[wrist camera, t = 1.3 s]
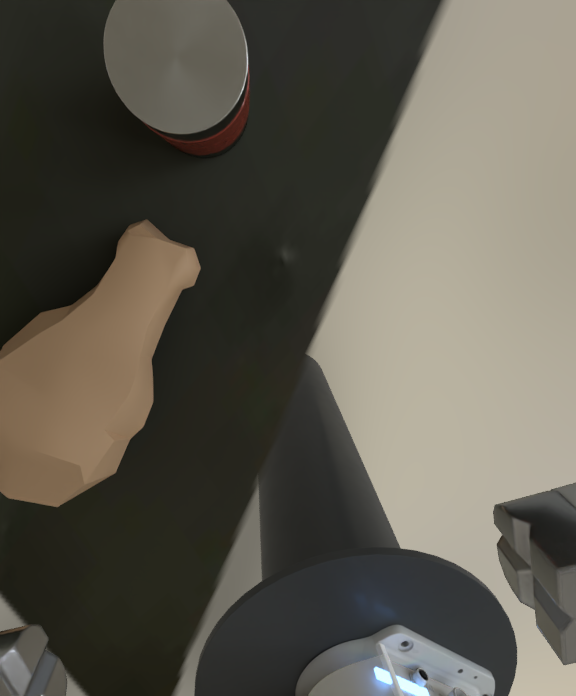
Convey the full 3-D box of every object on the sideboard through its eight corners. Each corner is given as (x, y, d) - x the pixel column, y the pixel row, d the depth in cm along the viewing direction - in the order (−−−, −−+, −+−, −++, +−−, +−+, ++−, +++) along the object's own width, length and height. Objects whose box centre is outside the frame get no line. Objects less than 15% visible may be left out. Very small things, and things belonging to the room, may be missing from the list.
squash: (-12, 423, 35) (-114, 465, 26) (117, 199, 33) (55, 162, 24) (109, 494, 36) (51, 559, 27) (242, 278, 34) (227, 270, 25)
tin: (263, 83, 29) (272, 17, 19) (228, 174, 31) (217, 160, 20) (173, 35, 28) (129, -64, 18) (141, 133, 30) (82, 94, 19)
